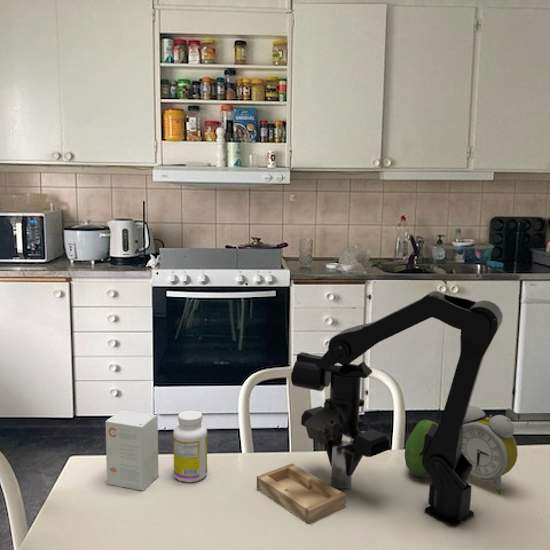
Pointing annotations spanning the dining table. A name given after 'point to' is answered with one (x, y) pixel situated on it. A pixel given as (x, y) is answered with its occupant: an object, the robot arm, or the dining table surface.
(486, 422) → the alarm clock
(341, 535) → the dining table surface
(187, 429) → the supplement bottle
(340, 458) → the grey metal peg
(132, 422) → the small box
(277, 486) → the light brown wooden tray
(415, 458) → the avocado
